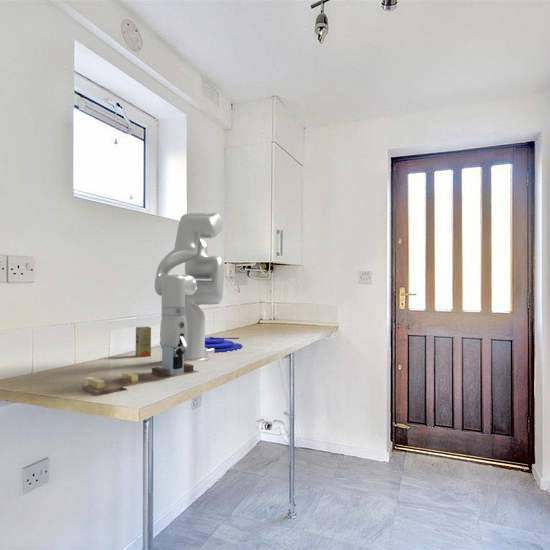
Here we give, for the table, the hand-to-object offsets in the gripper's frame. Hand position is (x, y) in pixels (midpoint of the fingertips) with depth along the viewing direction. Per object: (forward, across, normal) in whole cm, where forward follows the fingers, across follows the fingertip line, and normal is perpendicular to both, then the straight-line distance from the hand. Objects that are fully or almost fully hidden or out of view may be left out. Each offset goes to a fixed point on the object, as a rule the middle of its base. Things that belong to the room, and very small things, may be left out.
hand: (172, 366), depth 131 cm
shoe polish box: (+3, +41, -12) cm, 43 cm away
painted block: (+2, 0, 0) cm, 2 cm away
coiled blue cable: (+4, +37, -45) cm, 58 cm away
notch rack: (+3, 0, +10) cm, 10 cm away
